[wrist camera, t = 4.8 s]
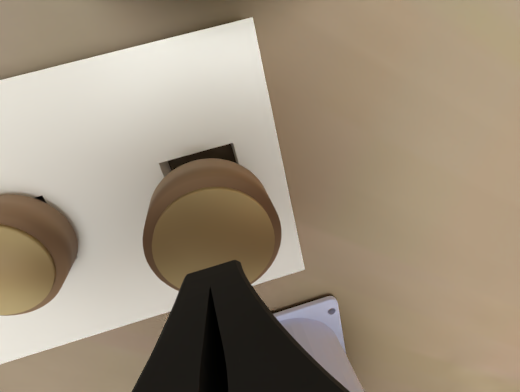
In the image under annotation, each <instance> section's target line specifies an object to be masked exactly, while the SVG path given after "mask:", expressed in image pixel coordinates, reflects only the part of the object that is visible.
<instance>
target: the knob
mask: <svg viewBox="0 0 520 392" xmlns="http://www.w3.org/2000/svg"><path fill="white" fill-rule="evenodd" d="M142 240H143V250H144V255H145V258H146V260H147V263H148V264H149V266H150V268H151V270H152V271H153V272H154V273H155V275H156V276H157V277H158V278H159V279H160V280H161V281H163V282H164V283H165V284H167V285H168V286H170V287H172V288H173V289H175V290H177V291H179V290H180V287H181V285H182V282H183V280H184V278H185V276H186V275H187V274H189V273H193V272H196V271H199V270H202V269H206V268H209V267H212V266H216V265H219V264H222V263H225V262H229V261H232V260H237V261H239V262H241V265H242V268H243V271H244V273H245V275H246V277H247V279H248V280H249V282H250V284H252V283H254V282H255V281H256V280H258V279H259V278H260V277H261V276H262V275H263V274H264V273H265V272H266V271H267V270H268V269H269V268H270V266H271V265H272V263H273V262H274V260H275V258H276V256H277V254H278V251H279V248H280V244H281V223H280V219H279V216H278V214H277V212H276V209H275V207H274V206H273V204H272V202H271V200H270V198H269V196H268V194H267V192H266V190H265V188H264V186H263V185H262V183H261V182H260V180H259V179H258V178H257V177H256V176H255V175H254V174H253V173H252V172H251V171H249V170H248V169H246V168H245V167H243V166H241V165H239V164H237V163H235V162H231V161H228V160H223V159H214V158H208V159H199V160H195V161H191V162H188V163H185V164H183V165H181V166H179V167H177V168H176V169H174V170H173V171H171V172H170V173H169V174H168V175H166V176H165V177H164V178H163V179H162V181H161V182H160V183H159V184H158V186H157V187H156V189H155V190H154V193H153V195H152V197H151V200H150V204H149V208H148V212H147V217H146V221H145V226H144V230H143V238H142Z"/></svg>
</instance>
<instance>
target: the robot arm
mask: <svg viewBox="0 0 520 392" xmlns="http://www.w3.org/2000/svg"><path fill="white" fill-rule="evenodd" d="M331 308H332V309H331ZM329 309H331V310H329ZM132 392H364V390H363V388H362V386H361V384H360V382H359V380H358V378H357V376H356V374H355V372H354V370H353V368H352V366H351V364H350V362H349V360H348V358H347V356H346V350H345V344H344V338H343V332H342V326H341V320H340V313H339V307H338V302H337V300H336V298H335V297H333V296H327V297H324V298H321V299H318V300H314V301H311V302H308V303H305V304H302V305H299V306H296V307H293V308H289V309H286V310H283V311H280V312H277V313H274V314H272V312H271V311H270V310H269V309H268V307H267V306H266V305H265V303H264V302H263V301H262V300H261V298H260V297H259V296H258V294H257V293H256V291H255V290H254V288H253V287H252V285H251V284H250V282H249V280H248V279H247V277H246V275H245V273H244V271H243V268H242V265H241V262H239V261H237V260H232V261H229V262H225V263H222V264H219V265H216V266H212V267H209V268H206V269H202V270H199V271H196V272H193V273H189V274H187V275H186V276H185V278H184V280H183V282H182V285H181V287H180V290H179V293H178V295H177V298H176V300H175V303H174V305H173V307H172V310H171V312H170V314H169V317H168V319H167V321H166V324H165V326H164V328H163V330H162V332H161V335H160V337H159V339H158V341H157V343H156V345H155V348H154V350H153V352H152V354H151V356H150V358H149V360H148V362H147V364H146V365H145V367H144V369H143V371H142V373H141V375H140V377H139V379H138V381H137V383H136V385H135V387H134V389H133V390H132Z"/></svg>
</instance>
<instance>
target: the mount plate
mask: <svg viewBox="0 0 520 392" xmlns="http://www.w3.org/2000/svg"><path fill="white" fill-rule="evenodd" d="M230 143H231V146H232V149H233V153H234V157H235V160H236V163H237V164H239V165H241V166H243V167H245V168H246V169H248V170H249V171H251V172H252V173H253V174H254V175H255V176H256V177H257V178H258V179H259V180H260V182H261V183H262V185H263V186H264V188H265V190H266V192H267V194H268V196H269V198H270V200H271V202H272V204H273V206H274V207H275V209H276V212H277V214H278V216H279V219H280V223H281V244H280V248H279V251H278V254H277V256H276V258H275V260H274V262H273V263H272V265H271V266H270V268H269V269H268V270H267V271H266V272H265V273H264V274H263V275H262V276H261V277H260V278H259V279H258V280H256V281H255V282H254V283H252V284H251V285H252V286H254V285H257V284H260V283H263V282H266V281H270V280H273V279H276V278H279V277H283V276H286V275H289V274H292V273H295V272H299V271H302V270H305V268H304V263H303V258H302V253H301V248H300V243H299V239H298V234H297V229H296V224H295V219H294V215H293V210H292V205H291V200H290V195H289V190H288V186H287V181H286V176H285V171H284V166H283V161H282V157H281V152H280V147H279V142H278V137H277V132H276V128H275V123H274V118H273V113H272V108H271V104H270V99H269V94H268V89H267V84H266V79H265V75H264V70H263V65H262V60H261V55H260V50H259V46H258V41H257V36H256V31H255V26H254V21H253V17H251V18H247V19H243V20H239V21H235V22H231V23H227V24H223V25H219V26H215V27H211V28H207V29H203V30H199V31H195V32H191V33H187V34H183V35H179V36H175V37H171V38H167V39H163V40H159V41H155V42H151V43H147V44H143V45H139V46H135V47H131V48H127V49H123V50H119V51H115V52H111V53H107V54H103V55H99V56H95V57H91V58H87V59H83V60H79V61H75V62H71V63H67V64H63V65H59V66H55V67H51V68H47V69H43V70H39V71H35V72H31V73H27V74H23V75H19V76H15V77H11V78H7V79H3V80H0V195H3V194H15V195H23V196H28V197H32V198H35V197H39V196H43V198H44V200H45V201H46V203H47V204H49V205H50V206H52V207H54V208H55V209H56V210H58V211H59V212H60V213H61V214H62V215H63V216H64V217H65V218H66V219H67V220H68V221H69V222H70V224H71V226H72V227H73V229H74V231H75V233H76V237H77V241H78V252H77V257H76V259H75V262H74V264H73V266H72V268H71V270H70V272H69V273H68V275H67V277H66V279H65V281H64V283H63V285H62V287H61V289H60V291H59V292H58V294H57V295H56V296H55V297H54V299H52V300H51V301H50V302H49V303H47V304H46V305H44V306H43V307H41V308H39V309H37V310H34V311H31V312H28V313H24V314H19V315H10V316H0V364H3V363H6V362H9V361H12V360H15V359H19V358H22V357H25V356H28V355H32V354H35V353H38V352H41V351H44V350H48V349H51V348H54V347H57V346H60V345H64V344H67V343H70V342H73V341H77V340H80V339H83V338H86V337H89V336H93V335H96V334H99V333H102V332H106V331H109V330H112V329H115V328H118V327H122V326H125V325H128V324H131V323H134V322H138V321H141V320H144V319H147V318H151V317H154V316H157V315H160V314H163V313H167V312H170V311H171V310H172V307H173V305H174V303H175V300H176V298H177V295H178V293H179V291H177V290H175V289H173V288H172V287H170V286H168V285H167V284H165V283H164V282H163V281H161V280H160V279H159V278H158V277H157V276H156V275H155V273H154V272H153V271H152V270H151V268H150V266H149V264H148V263H147V260H146V258H145V255H144V250H143V240H142V238H143V230H144V226H145V221H146V217H147V212H148V208H149V204H150V200H151V197H152V195H153V193H154V190H155V189H156V187H157V186H158V184H159V183H160V182H161V181H162V179H163V178H164V177H165V176H166V175H168V174H169V173H170V172H171V168H170V166H169V163H168V161H169V160H172V159H176V158H180V157H183V156H187V155H190V154H194V153H198V152H201V151H205V150H208V149H212V148H216V147H219V146H223V145H226V144H230Z"/></svg>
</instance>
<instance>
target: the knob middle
mask: <svg viewBox="0 0 520 392" xmlns="http://www.w3.org/2000/svg"><path fill="white" fill-rule="evenodd" d="M77 252H78V241H77V237H76V233H75V231H74V229H73V227H72V226H71V224H70V222H69V221H68V220H67V219H66V218H65V217H64V216H63V215H62V214H61V213H60V212H59V211H58V210H56V209H55V208H54V207H52V206H50V205H49V204H47V203H46V201H45V200H44V198H43V196H39V197H35V198H32V197H28V196H23V195H15V194H3V195H0V316H10V315H19V314H24V313H28V312H31V311H34V310H37V309H39V308H41V307H43V306H44V305H46V304H47V303H49V302H50V301H51V300H52V299H54V297H55V296H56V295H57V294H58V292H59V291H60V289H61V287H62V285H63V283H64V281H65V279H66V277H67V275H68V273H69V272H70V270H71V268H72V266H73V264H74V262H75V259H76V257H77Z"/></svg>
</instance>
